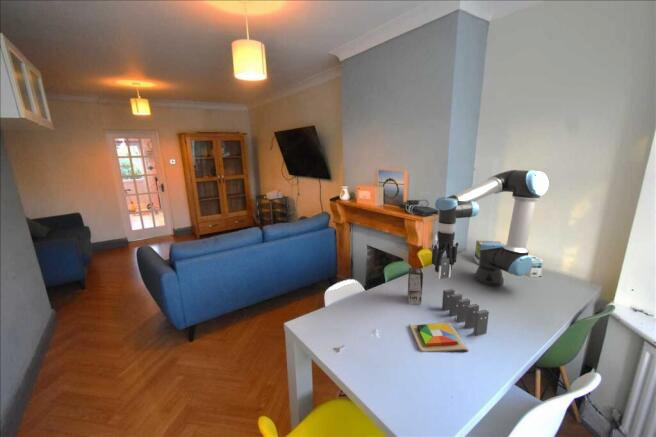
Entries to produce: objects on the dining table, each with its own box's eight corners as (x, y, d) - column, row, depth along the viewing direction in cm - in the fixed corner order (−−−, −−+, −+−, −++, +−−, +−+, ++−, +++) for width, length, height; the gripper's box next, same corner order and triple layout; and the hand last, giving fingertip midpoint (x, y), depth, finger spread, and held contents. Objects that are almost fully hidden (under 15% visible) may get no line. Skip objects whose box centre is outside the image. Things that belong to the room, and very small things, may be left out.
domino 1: (437, 277, 140) (438, 258, 138) (445, 276, 141) (447, 257, 139) (439, 279, 138) (441, 259, 136) (448, 277, 140) (450, 258, 137)
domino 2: (441, 309, 139) (443, 290, 136) (450, 307, 140) (452, 288, 138) (444, 311, 137) (446, 292, 134) (453, 309, 138) (455, 290, 136)
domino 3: (448, 314, 134) (450, 295, 132) (457, 312, 135) (459, 293, 133) (451, 316, 132) (453, 297, 130) (460, 315, 133) (462, 295, 131)
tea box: (478, 265, 191) (481, 244, 188) (473, 260, 201) (475, 240, 198) (503, 266, 189) (505, 245, 186) (497, 261, 199) (499, 240, 195)
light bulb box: (541, 277, 172) (544, 260, 169) (530, 277, 172) (532, 260, 170) (529, 270, 182) (531, 254, 180) (518, 270, 182) (520, 254, 180)
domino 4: (456, 320, 129) (458, 300, 127) (465, 318, 131) (467, 298, 128) (459, 322, 127) (461, 302, 125) (468, 320, 129) (470, 300, 126)
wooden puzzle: (408, 326, 126) (408, 319, 125) (451, 326, 126) (452, 319, 125) (419, 353, 109) (419, 345, 108) (469, 353, 108) (470, 345, 108)
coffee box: (421, 305, 143) (423, 274, 139) (408, 303, 144) (409, 274, 141) (419, 296, 151) (421, 267, 148) (407, 295, 153) (408, 267, 149)
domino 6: (473, 333, 120) (475, 311, 118) (482, 330, 121) (485, 309, 119) (477, 335, 118) (479, 314, 116) (486, 333, 119) (489, 312, 117)
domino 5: (464, 326, 124) (466, 305, 122) (473, 324, 126) (476, 303, 124) (468, 329, 123) (470, 307, 120) (477, 326, 124) (479, 306, 122)
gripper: (456, 227, 141) (452, 271, 146) (424, 231, 136) (422, 276, 141) (467, 231, 134) (463, 277, 139) (435, 235, 129) (431, 282, 134)
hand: (442, 277), depth 140 cm, fingers closed on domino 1, 5 cm apart
